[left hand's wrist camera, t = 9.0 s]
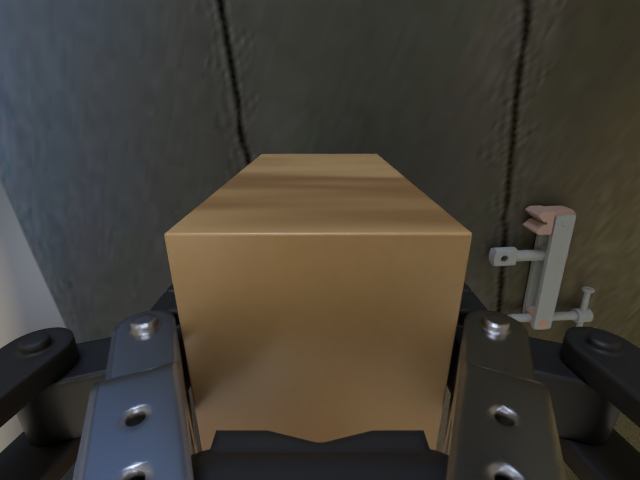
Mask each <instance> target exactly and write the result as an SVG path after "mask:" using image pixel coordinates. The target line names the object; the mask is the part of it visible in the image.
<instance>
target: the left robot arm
mask: <svg viewBox="0 0 640 480" xmlns="http://www.w3.org/2000/svg"><path fill="white" fill-rule="evenodd" d="M190 386H191V383H190V377H189V371H188V366H187V360H186V354H185V349H184V343H183V337H182V332H181V326H180V321H179V315H178V309H177V304H176V298H175V292H174V287H173V283H172V285H171V286H170V287H169V288H168V289H167V292H165V293H164V294H163V295H162V297H161V298H160V299H159V300H158V301H157V303H156V304H155V305H154V306H153V308H152V309H151V310H150V311H145V312H141V313H138V314H135V315H132V316H130V317H128V318H126V319H124V320H123V321H121V322H120V323H119V324H118V325H117V326H116V327H115V328H114V330H113V332H112V336H111V337H109V338H104V339H99V340H94V341H89V342H84V343H78V344H76V341H75V338H74V335H73V333H72V331H71V330H69V329H66V328H48V329H42V330H38V331H35V332H32V333H29V334H26V335H24V336H21V337H19V338H17V339H15V340H14V341H12V342H10V343H9V344H7V345H5V346H4V347H2V348H1V349H0V427H1V426H3V425H4V424H5V423H6V422H7V421H8V420H10V419H11V418H12V417H13V416H14V415H15V414H17V416H18V419H19V421H20V423H21V426H22V428H23V430H24V432H23V433H22V434H20V435H19V436H18V437H17V438H16V439H15V440H14V441H13V442H12V443H11V444H10V445H8V446H7V447H6V448H5V449H4V450H3V451H2V452H1V453H0V480H60V479H61V478H62V477H63V476H64V475H65V473H66V472H67V471H68V470H69V469H70V467H71V466H72V465H73V464H74V463H75V462H76V466H75V471H74V476H73V480H567V476H566V471H565V466H564V462H565V463H566V464H567V465H568V466H569V467H570V469H571V470H572V471H573V472H574V473H575V475H576V476H577V477H578V478H579V479H580V480H640V453H639V452H638V451H637V450H636V449H635V448H634V447H633V446H632V445H630V444H629V443H628V442H627V441H626V440H625V439H624V438H623V437H622V436H621V435H620V434H619V433H617V432H616V431H615V430H614V429H613V427H614V425H615V423H616V420H617V418H618V416H619V413H620V411H621V412H622V413H623V414H624V415H626V416H627V417H628V418H629V419H630V420H631V421H633V422H634V423H635V424H636V425H637V426H639V427H640V349H639V348H638V347H636V346H635V345H633V344H631V343H630V342H628V341H627V340H625V339H623V338H621V337H619V336H617V335H615V334H612V333H610V332H607V331H604V330H600V329H596V328H591V327H572V328H570V329H568V330H567V331H566V333H565V336H564V339H563V343H557V342H552V341H547V340H541V339H536V338H531V337H529V336H528V332H527V330H526V328H525V327H524V326H523V325H522V324H521V323H520V322H519V321H517V320H516V319H514V318H512V317H510V316H508V315H505V314H502V313H499V312H495V311H488V310H487V309H486V308H485V306H484V305H483V304H482V303H481V302H480V300H479V299H478V298H477V297H476V295H475V294H474V293H473V292H471V289H470V288H469V287H468V286H467V285H465V282H464V286H463V292H462V297H461V303H460V309H459V315H458V321H457V327H456V333H455V339H454V345H453V350H452V356H451V362H450V368H449V374H448V380H447V386H448V388H449V391H450V393H451V397H450V403H449V410H448V417H447V424H446V431H445V438H444V445H443V452H439V451H436V450H432V449H430V448H429V445H428V442H427V439H426V436H425V433H424V430H372V431H368V432H364V433H360V434H356V435H352V436H348V437H344V438H340V439H336V440H332V441H327V442H322V443H318V442H313V441H308V440H304V439H300V438H296V437H292V436H288V435H284V434H280V433H276V432H272V431H268V430H216V433H215V436H214V439H213V442H212V445H211V448H210V449H208V450H204V451H201V452H197V445H196V438H195V431H194V424H193V417H192V410H191V403H190V397H189V392H188V390H189V388H190ZM76 460H77V461H76ZM563 460H564V461H563Z"/></svg>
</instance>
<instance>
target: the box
mask: <svg viewBox="0 0 640 480" xmlns="http://www.w3.org/2000/svg"><path fill="white" fill-rule="evenodd" d="M471 239H472V233H471V232H470V231H469V230H468V229H466V228H465V227H464V226H463V225H462V224H460V223H459V222H458V221H457V220H456V219H454V218H453V217H452V216H451V215H450V214H448V213H447V212H446V211H445V210H444V209H442V208H441V207H440V206H439V205H438V204H436V203H435V202H434V201H433V200H431V199H430V198H429V197H428V196H427V195H425V194H424V193H423V192H422V191H421V190H419V189H418V188H417V187H416V186H415V185H413V184H412V183H411V182H410V181H409V180H407V179H406V178H405V177H404V176H403V175H401V174H400V173H399V172H398V171H397V170H395V169H394V168H393V167H392V166H391V165H389V164H388V163H387V162H386V161H385V160H383V159H382V158H381V157H380V156H379V155H377V154H261V155H260V156H259V157H258V158H256V159H255V160H254V161H253V162H251V163H250V164H249V165H248V166H247V167H245V168H244V169H243V170H242V171H240V172H239V173H238V174H237V175H236V176H234V177H233V178H232V179H231V180H229V181H228V182H227V183H226V184H225V185H223V186H222V187H221V188H220V189H219V190H217V191H216V192H215V193H214V194H212V195H211V196H210V197H209V198H208V199H206V200H205V201H204V202H203V203H201V204H200V205H199V206H198V207H197V208H195V209H194V210H193V211H192V212H190V213H189V214H188V215H187V216H186V217H184V218H183V219H182V220H181V221H179V222H178V223H177V224H176V225H175V226H173V227H172V228H171V229H170V230H168V231H167V232H166V233H165V242H166V247H167V253H168V259H169V264H170V270H171V275H172V281H173V287H174V292H175V298H176V304H177V309H178V315H179V321H180V326H181V332H182V337H183V343H184V349H185V354H186V360H187V366H188V371H189V377H190V383H191V388H192V394H193V399H194V405H195V411H196V416H197V422H198V428H199V433H200V439H201V445H202V450H203V451H204V450H208V449H210V448H211V445H212V442H213V439H214V436H215V433H216V430H268V431H272V432H276V433H280V434H284V435H288V436H292V437H296V438H300V439H304V440H308V441H313V442H318V443H322V442H327V441H332V440H336V439H340V438H344V437H348V436H352V435H356V434H360V433H364V432H368V431H372V430H424V433H425V436H426V439H427V442H428V445H429V448H430V449H432V450H436V445H437V439H438V433H439V427H440V421H441V415H442V409H443V403H444V397H445V392H446V386H447V380H448V374H449V368H450V362H451V356H452V350H453V345H454V339H455V333H456V327H457V321H458V315H459V309H460V303H461V297H462V292H463V286H464V280H465V274H466V268H467V262H468V256H469V250H470V245H471Z"/></svg>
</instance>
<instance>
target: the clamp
mask: <svg viewBox="0 0 640 480" xmlns="http://www.w3.org/2000/svg"><path fill="white" fill-rule="evenodd" d="M525 210H526V211H527V212H528V213H529V214H530V215H531V216H533V218H529V219H528V220H527V221H526V222H525V223H523V225H524V227H526V228H527V229H529V230H531V231H532V232H534V233H536V234H537V235H536V241H535V246H534V250H517V249H516V248H515V247H498V248H491V250H490V252H489V262H490V263H491V264H492V265H493V266H510V265H516V261H532V262H531V267H530V272H529V278H528V283H527V288H526V293H525V299H524V304H523V309H522V314H509V315H508V316H510V317H512V318H514V319H516V320H517V321H519V322H529V323H530V324H531V327H532V328H533V329H538V330H542V329H549V328H551V324H552V321H557V320H572V321H573V322H577V323H576V327H583V323H584V322H591V321H592V320H593V313H592V311H591V310H590V309H589V308H587V307H588V303H589V299H590V295H591V293H594V292H595V290H594V289H593V288H591V287H588V286H584V287H582V291H583V292H584V294H583V298H582V302H581V306H580V308H573V309H571V310H570V311H569V312H554V311H555V307H556V302H557V298H558V294H559V289H560V285H561V281H562V276H563V272H564V267H565V263H566V259H567V258H568V250H569V246H570V241H571V237H572V233H573V228H574V224H575V219H576V213H575V212H574V211H573V210H572V209H569V208H567V207H565V206H562V205H561V206H542V205H538V206H528V207H527V208H526V209H525Z"/></svg>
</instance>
